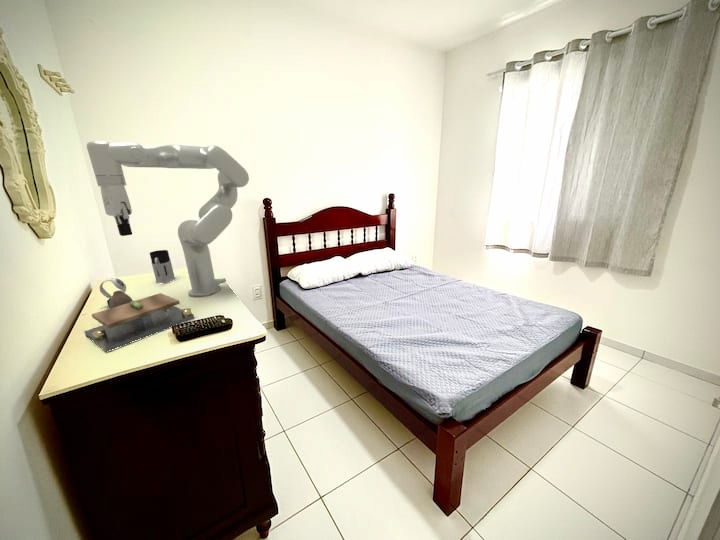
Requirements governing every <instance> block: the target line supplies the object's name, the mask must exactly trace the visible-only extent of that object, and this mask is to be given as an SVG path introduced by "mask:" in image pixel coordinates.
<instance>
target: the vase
mask: <svg viewBox="0 0 720 540" xmlns="http://www.w3.org/2000/svg"><path fill="white" fill-rule="evenodd" d="M112 294H113V295H111V296H112V297H111V299H110V302H109V306H110V308H114V307H117V306H120V305H123V304H127V303H130V302H131V301H134V300H133V298H132V297H131V296H130V295H128V293H126V292H125V293H124V292H123V291H122V290H121V289H119V290H115V291H113V293H112ZM109 306H108V307H109ZM110 308H109V309H110Z"/></svg>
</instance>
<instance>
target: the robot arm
mask: <svg viewBox="0 0 720 540" xmlns="http://www.w3.org/2000/svg"><path fill="white" fill-rule="evenodd" d="M86 148H87V152H88V157H89V159H90V163H91V166H92V169H93V173H94V177H95V180H96V183H97V187H100V193H101V199H102V202H103V207H104V208H103V209H104V211H105V214H106V215H107V216H110V217H113V218H114V221H115V223H116V226H117V229H118V233H119V236H121V237H123V236H124V237H126V236H131V235H133V231H132V227H131V225H130V215H132V213H133V210H132V205H131V202H130V199H129V195H128V193H127V189H126V187H125V186H127V183H126V182H127V181H126V177H125V175H124V171H123V167H127V168H159V169H160V168H162V169H163V168H164V169H193V170H194V169H198V170H200V169H202V170H209V169H210V170H211V169H212V170H213V169H216V170H217V171H219V172H218V173H217V181H218V190H217V191H216V193H215V194H214V195H213V196H212V197H211V198H210V199H208V201H207V202H205V204H203V205H202V206H201V207H200V209H198V210H199V211H198V218H199V220H195V219H188V220H184V221H182V222H181V223H179V226H178V228H177V237H178V240H179V242H180V245H181V248H182V251H183V255H184V259H185V264H186V269H187V273H188V277H189V278H188V279H189V282H190V287H191V288H190V290H189V291H188V296H190V297H193V298H198V297H199V298H201V297H207V296H211V295H213V294H214V295H215V294H217V293H218V292H220V291H221V286H220V284H223V283H226V282H227V280H226V278H225V277H223V278H215V272H214V269H213V268H214V267H213V262H212V257H211V252H210V249H209V245H210V244H211V243H213V242H214V241H215V240H216V239H218V237H219V236H220V235H221V234H222V232H224V231H225V230H226V229H227V228H228V226H229V225H230V224H231V223H232V220H233V212H232V208H233V207H234V206H235V205H236V203H237V201H238V188H244V187H245V186H247V184H248V183H249V181H250V177H249V173H248V171H247V170H246V168H244V167H243V165H241V164H240V162H238V161H237V160H236V159H235V158H233V156H231V155H230V154H229V153H228V152H227V150H224V149H223V148H222V147H220V146H219V145H209V146H197V145H195V146H193V145H182V144H166V145H158V146H143V145H141V144H140V143H137V142H134V141H133V142H132V141H131V142H130V141H126V142H110V141H104V140H103V141H100V140H93V141H88V142H87V143H86Z"/></svg>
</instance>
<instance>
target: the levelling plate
mask: <svg viewBox="0 0 720 540" xmlns="http://www.w3.org/2000/svg"><path fill="white" fill-rule="evenodd" d="M180 304H181V303H180V300H178V299H176V298H173V297H171V296H169V295H166V294H163V293H161V292H160V293H157V294H153V295H150V296H147V297H143V298H141V299H137V300H133V301H131V302H130V303H127V304H123V305H120V306H117V307H114V308H108V309H105V310H101V311H98V312H97V311H96V312H95V313H91V317H92V319H94V320H95V321H97V322H99V324H101V325H104V326H106V327H107V328H112V327H115V326H117V325H120V324H123V323H126V322H129V321H132V320H135V319H138V318H140V317H143V316H146V315H149V314H152V313H155V312H158V311H160V310H163V309H166V308H169V307H172V306H175V307H176V306H177V305H180Z"/></svg>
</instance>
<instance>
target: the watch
mask: <svg viewBox="0 0 720 540" xmlns="http://www.w3.org/2000/svg"><path fill="white" fill-rule="evenodd" d="M106 282H111V283H112V285H113V286H114V287H116V288H117V289H118V290H121V291H123V292H124V293H125V294H126V292H127V284H125V282H124V281H123V280H122V279H119V278H113V277H111V278H107V279H105V280H104V281H102V282H101V283H100V285H99V292H100V293H101V294H102V295H103V297H105V298H106V299H108V300H106V303H107V305H108V309H110V306H109V302H110V299H111V297H112V296H113V295H111V294H110V293H108V291H106V289H105V288H104V287H103V285H104V283H106Z"/></svg>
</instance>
